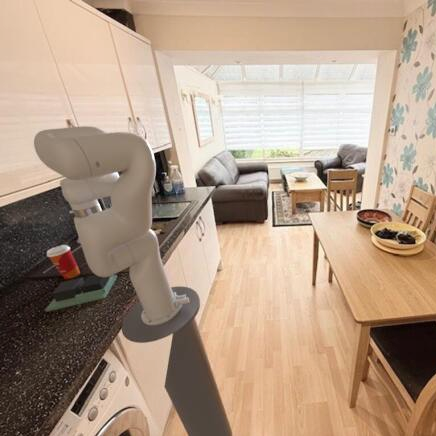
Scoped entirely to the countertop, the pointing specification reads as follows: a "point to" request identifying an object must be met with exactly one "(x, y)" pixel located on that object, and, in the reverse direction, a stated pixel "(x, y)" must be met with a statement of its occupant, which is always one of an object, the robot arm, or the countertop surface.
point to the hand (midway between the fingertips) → (108, 253)
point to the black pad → (93, 283)
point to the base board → (83, 296)
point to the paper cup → (64, 261)
